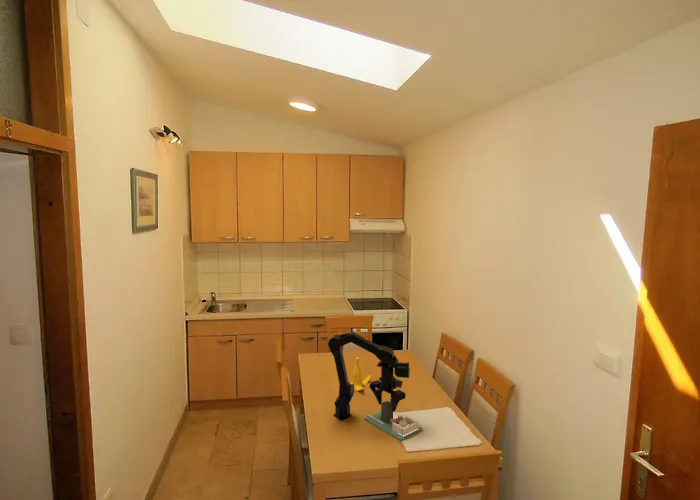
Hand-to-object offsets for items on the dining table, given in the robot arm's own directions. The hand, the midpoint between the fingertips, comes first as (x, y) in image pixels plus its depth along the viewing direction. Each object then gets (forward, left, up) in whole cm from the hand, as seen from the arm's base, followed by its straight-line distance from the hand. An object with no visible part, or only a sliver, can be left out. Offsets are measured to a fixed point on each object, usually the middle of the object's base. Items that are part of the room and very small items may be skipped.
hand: (386, 407), depth 195 cm
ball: (0, -11, -4) cm, 11 cm away
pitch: (0, -4, -7) cm, 8 cm away
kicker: (0, -3, -6) cm, 6 cm away
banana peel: (+17, +39, -7) cm, 43 cm away
